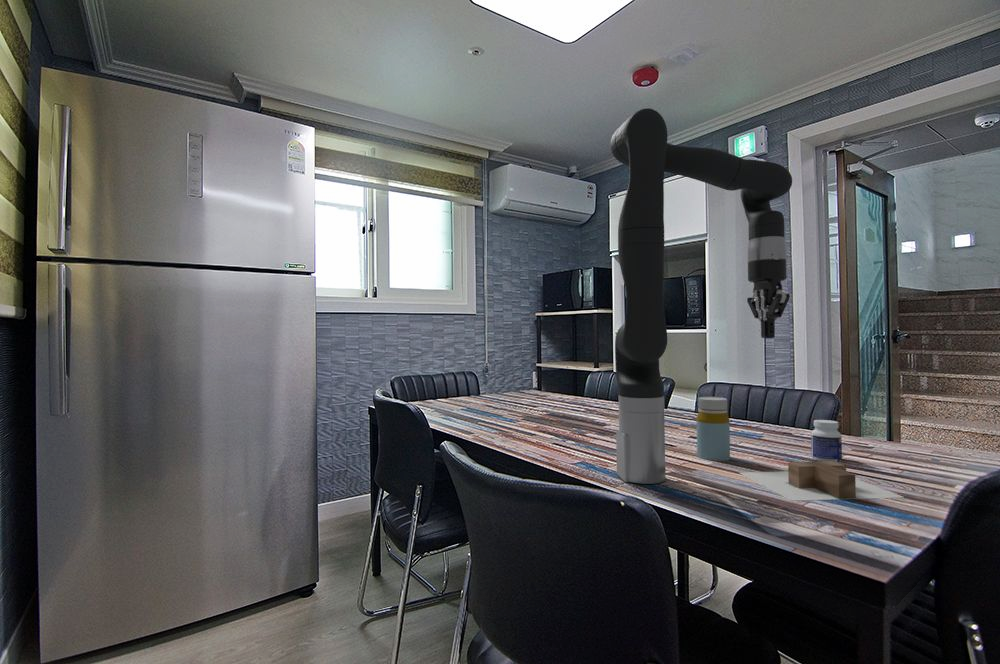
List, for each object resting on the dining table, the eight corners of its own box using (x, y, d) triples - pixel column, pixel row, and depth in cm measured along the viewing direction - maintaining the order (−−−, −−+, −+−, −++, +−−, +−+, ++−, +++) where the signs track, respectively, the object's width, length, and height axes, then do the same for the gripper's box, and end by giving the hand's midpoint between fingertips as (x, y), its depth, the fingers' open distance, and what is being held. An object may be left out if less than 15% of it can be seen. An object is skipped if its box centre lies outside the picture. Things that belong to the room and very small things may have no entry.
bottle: (730, 461, 116) (729, 397, 116) (730, 468, 109) (729, 401, 109) (698, 458, 118) (697, 395, 119) (696, 465, 112) (695, 399, 112)
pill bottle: (847, 469, 107) (846, 423, 108) (818, 468, 109) (817, 423, 109) (834, 462, 113) (834, 419, 113) (807, 461, 114) (806, 418, 114)
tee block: (821, 499, 84) (821, 475, 84) (788, 483, 93) (788, 462, 93) (872, 497, 85) (872, 474, 85) (834, 482, 94) (834, 461, 94)
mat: (791, 509, 84) (791, 500, 84) (738, 479, 101) (738, 472, 101) (904, 506, 85) (904, 497, 85) (833, 477, 102) (833, 470, 102)
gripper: (734, 264, 116) (735, 338, 116) (767, 255, 102) (768, 338, 102) (766, 263, 116) (767, 337, 116) (802, 254, 103) (803, 338, 102)
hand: (767, 337), depth 109 cm, fingers closed
